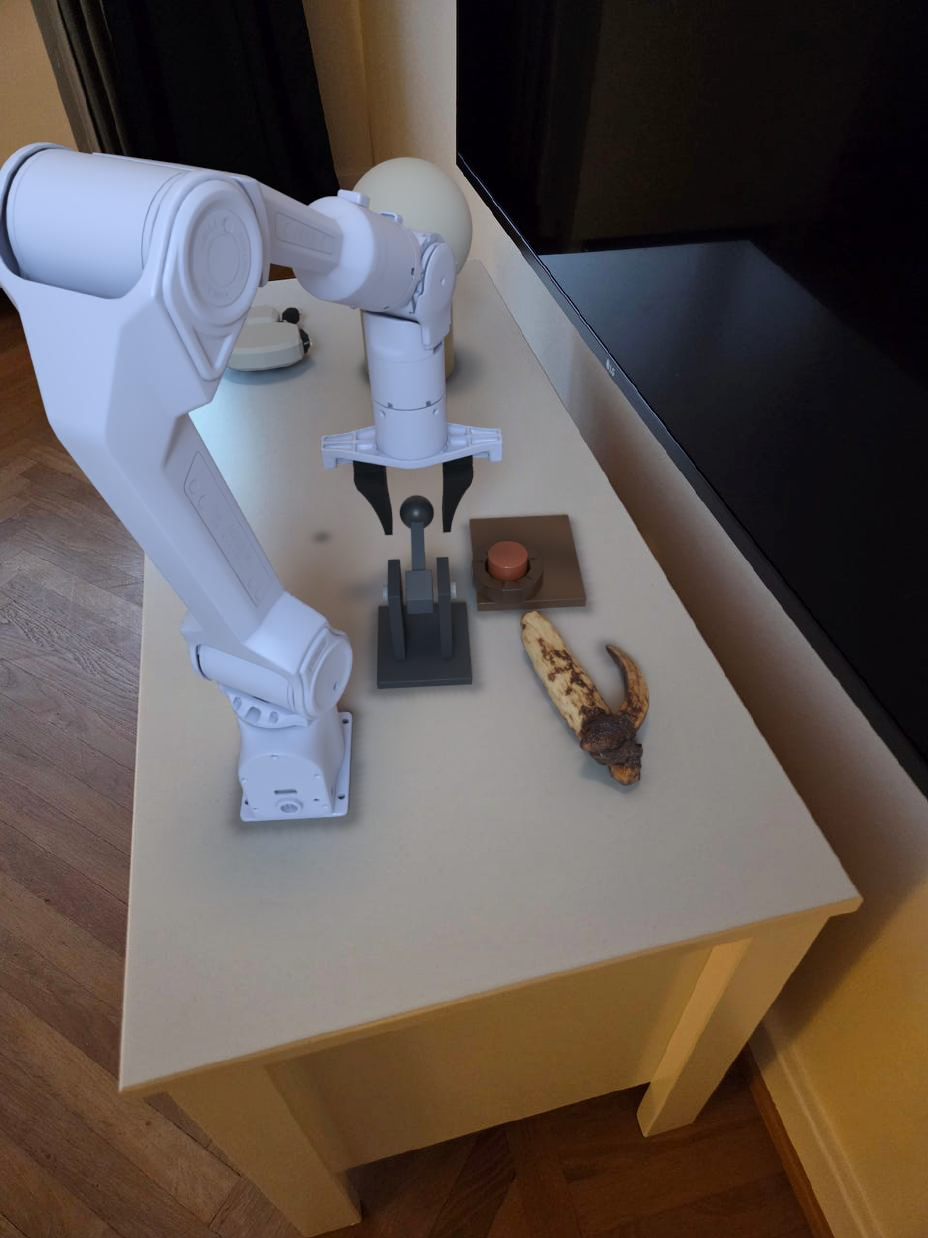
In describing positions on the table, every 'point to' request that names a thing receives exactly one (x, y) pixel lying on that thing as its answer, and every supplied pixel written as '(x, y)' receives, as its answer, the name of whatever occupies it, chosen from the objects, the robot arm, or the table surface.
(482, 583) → the control block
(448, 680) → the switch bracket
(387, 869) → the table surface
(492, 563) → the warm button
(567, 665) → the lashed bone hook
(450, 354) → the lamp
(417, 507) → the switch lever
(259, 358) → the robot toy
